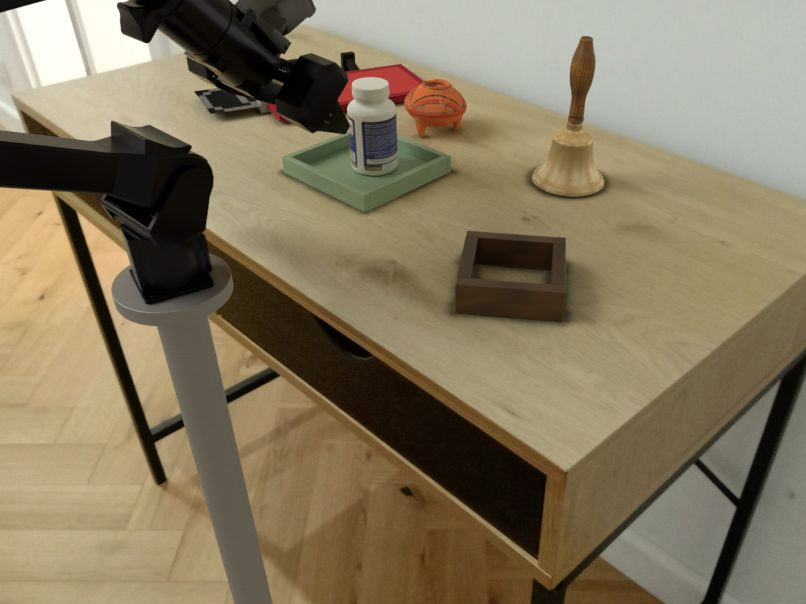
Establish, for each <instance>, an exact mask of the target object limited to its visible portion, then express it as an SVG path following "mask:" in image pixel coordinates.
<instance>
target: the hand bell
mask: <svg viewBox="0 0 806 604" xmlns="http://www.w3.org/2000/svg"><path fill="white" fill-rule="evenodd" d="M596 62H597V61H596V53H595V48H594V38H593V37H592V36H589V35H582V36H581V37H580V39H579V42H578V44H577V47H575V50H574V52H573V55H572V58H571V62H570V66H569V67H570V68H569V87H570V95H571V98H570V99H571V100H570V106H569V112H568V117H567V122H566V127H565V128H562V129H559V130H557V131H556V132H554V134H553V136H552V139H551V144H550V148H549V151H548V154H547V156H546V158H545V159H544V161H543V162H542V163H541V164H540V165H538V166H537V167H536V169H535V170H534V171H533V173H532V174H531V181H532V183H533V184H534V185H535V186H536V187H537V188H539V189H540V190H541V191H544V192H545V193H549V194H552V195H555V196H561V197H569V198H579V197H580V198H581V197H588V196H591V195H595V194H597V193H599V192H600V191H601V190H602V189H603V188H604V187H605V180H604V176H603V175H602V173H601V172H600V171H599V170H598V168H597V166H596V164H595V163H596V162H595V158H594V137H593V136H592V135H591V134H590V133H589V132H587V131H585V130H584V129H583V125H584V124H583V123H584V121H585V117H584V116H585V111H586V110H585V109H586V101H587V96H588V94H589V92H590V89H591V87H592V85H593V81H594V78H595V72H596Z"/></svg>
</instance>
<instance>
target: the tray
mask: <svg viewBox="0 0 806 604" xmlns="http://www.w3.org/2000/svg"><path fill="white" fill-rule="evenodd" d="M397 148H398V166H397V168H396V169H395V170H394V171H392V172H390V173H388V174H385V175H380V176H369V175H363V174H360V173H358V172H356V171H355V170H354V169H353V168H352V165H351V155H350V142H349V130H348V131H347V133H346V134H345V135H344V134H338V135H336V136H333V137H329V138H328V139H325V140H322V141H320V142H317V143H314V144H312V145H309V146H307V147H304V148H301V149H299V150H296V151H294V152H291V153H288V154H286V155H282V157H281V160H282V168H283V174H285V175H287V176H289V177H291V178H294V179H296V180H297V181H300V182H301V183H304V184H306V185H307V186H309V187H312V188H314V189H316V190H318V191H320V192H322V193H324V194H326V195H329V196H330V197H331V198H334V199H336V200H339V201H341V202H343V203H344V204H346V205H349V206H351V207H352V208H355V209H357V210H359V211H361V212H363V213H366V212H369V211H371V210H374V209H375V208H377V207H380V206H382V205H384V204H386V203H388V202H390V201H393V200H394V199H397V198H399V197H400V196H404V195H405V194H407V193H409V192H412V191H413V190H416V189H418V188H420V187H422V186H424V185H426V184H428V183H431V182H433V181H434V180H437V179H439V178H442V177H444V176H445V175H448V174H450V173H451V172H452V155H449V154H447V153H444V152H442V151H440V150H437V149H434V148H432V147H430V146H427V145H425V144H423V143H419V142H417V141H415V140H412V139H410V138H408V137H405V136H403V135H400V134H398V133H397Z"/></svg>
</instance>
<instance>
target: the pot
mask: <svg viewBox="0 0 806 604" xmlns="http://www.w3.org/2000/svg"><path fill="white" fill-rule="evenodd" d="M403 105H404V109H405V110H406V112H407V114H408V115H409V116H410V117H411V118H412V119H413V120H414V121H415V122H414V123H415V129H416V132H417V134H418V136H419V137H421V138H423V137H424V136H425V134H426V130H427V128H428V127H431V128H443V127H447V126H450V125H453V131H454V132H456V131H457V130H459V129H460V127H461V122H462V119H463V116H464V114H465V113H466V112H467V107H468V106H467V101H466V100H465V98H464V96H463V94H462V93H460V91H459V90H457V88H455V87H454V86H453V85H452V83H451V82H450V81H448V80H445V79H441V78H433V79H429V80H428V79H427V80H423V82H422V84H421V85H419V86H417V87H415V88H414V89H413V90H412V91H411V92H410V93H409V94H408V95H407V96H406V98H405V100H404V102H403Z"/></svg>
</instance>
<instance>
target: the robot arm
mask: <svg viewBox="0 0 806 604" xmlns="http://www.w3.org/2000/svg"><path fill="white" fill-rule="evenodd" d="M45 1H47V0H0V14H2V13H4V12H8V11H12V10H16V9H20V8H23V7H27V6H30V5H34V4H38V3H41V2H45ZM116 8H117V10H118V13H119V27H120V32H121V34H122V35H124V36H126V37H128V38H131V39H134V40H136V41H139V42H140V43H143V44H150V43H151V41H152V40H153V38H154V37H155V35H156V32H158V31H159V32H160V33H162V34H163V35H164V36H166V37H167V38H169V40H171V41H172V42H174V43H175V44H176V45H178V46H179V47H180V48H182V49H183V50H184V52H183V54H184V55H185V56H186V63H187V69H188V72H189V73H191V74H192V75H194V76H195V77H197V78H198V79H199V80H201V81H202V82H204V83H206V84H208V85H211V86H213V87H214V88H219V89H221V90H223V91H225V92H227V93H231V94H234V95H238V96H242V97H246V98H250V99H254V100H258V101H262V102H266V103H269V104H273V105H276V111H277V113H278V114H279V115H281V116H282V117H283V118H285V119H286V120H288V121H287V122H289V123H290V124H292V125H294V126H296V127H298V128H300V129H302V130H304V131H306V132H308V133H310V134H315V133H317V132H320V133H321V132H322V133H330V134H336V135H337V134H338V135H341V134H344V135H345V134H346V133H347V132H348V131H349V130H348V129H349V128H350V124H349V122H348V117H347V115H346V114H345V111H343V110H342V108H341V106H340V104H339V102H338V98H339V97H340V95H341V93H342V91H343V90H344V88H345V86H346V85H347V83H348V81H349V80H348V74H347V73H346V72H345V71H344V70H343V69H342V68H341V65H339V64H338V63H337V62H335V61H333V60H330V59H328V58H325V57H323V56H321V55H318V54H316V53H313V52H309V53H306V54H305V53H304V54H301V55H299V57H298V58H297V59H298V60H297V62H296V63H293V62H291V61H288V60H289V59H286V58H283V57H281V55H285V54H286V53H287V51H288V50H289V48H290V46H291V45H292V42H291V41H290V40H289V39H288V38H287V37H286V36H287V35H289V34H290V33H292V32H293V31H294V30H295V29H296V28H298V27H299V26H300V24H302V23H303V22H304V21H305V20H306V19H307V18H308V19H311V18H312V17H313V16H314V15H315V13H316V12H317V7H316V5H315V3H314V1H313V0H237V1H236V2H235V3H233V2H232V1H231V0H125V1H119V2H117V3H116ZM287 72H288V73H287ZM192 148H193V145H191V144H190V143H187V142H185V141H184V140H182V139H179V138H177V137H175V136H173V135H171V134H169V133H167V132H166V131H164V130H162V129H160V128H157V127H155V126H153V125H151V124H145V125H142V126H132V125H128V124H125V123H123V122H119V121H116V120H111V121H110V135H109V136H106V137H103V138H99V139H96V140H85V139H77V138H69V137H60V136H51V135H46V134H45V135H43V134H37V133H36V134H35V133H27V132H20V131H12V130H11V131H10V130H3V129H0V188H1V189H2V188H3V189H16V190H31V191H47V192H61V193H62V192H63V193H77V194H78V193H79V194H91V195H92V194H93V195H102V196H101V198H100V199H99V204H100V206H101V207H102V208H103V209H104V211H105V212H106V213H107V215H108V216H109V217H110V218H111V219H113V220H116V221H118V222H120V224H119V225H118V227H119V230H120V234H121V238H122V240H123V244H124V248H125V251H126V254H127V258H128V262H129V265H131V269H130V270H129V272H130V275H131V277H132V279H133V281H134V283H135V285H136V287H137V289H138V291H139V293H140V295H141V297H142V299H143V301H144V303H145V304H147V305H151V304H155V303H158V302H162V301H165V300H169V299H173V298H176V297H180V296H183V295H187V294H190V293H194V292H198V291H201V290H205V289H208V288H211V287H213V286H214V282H213V279H212V278H211V276H210V275H209V272H211V271H212V264H211V260H210V255H209V253H210V251H209V245H208V241H207V237H206V234H205V233H204V232H206V230H207V222H208V216H209V215H208V214H209V205H210V199H211V195H212V192H213V188H214V180H215V179H214V178H215V176H214V172H213V168H212V167H211V165H210V163H209V161H208V159H207V158H206V157H204V156H203V155H201V154H199V153H197V152H194V151H193V150H192Z"/></svg>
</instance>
